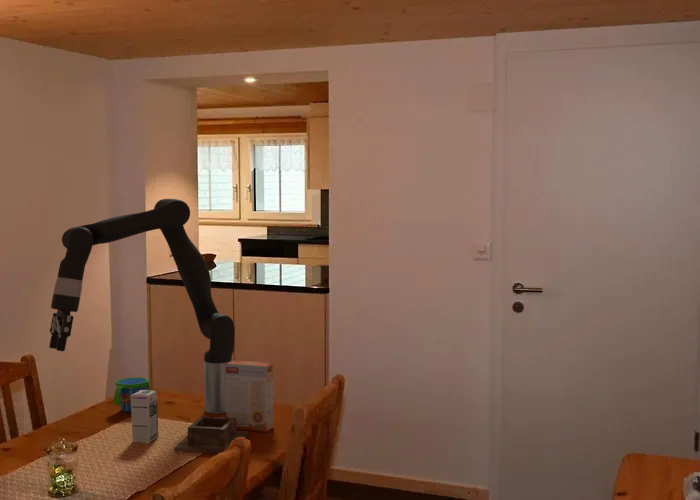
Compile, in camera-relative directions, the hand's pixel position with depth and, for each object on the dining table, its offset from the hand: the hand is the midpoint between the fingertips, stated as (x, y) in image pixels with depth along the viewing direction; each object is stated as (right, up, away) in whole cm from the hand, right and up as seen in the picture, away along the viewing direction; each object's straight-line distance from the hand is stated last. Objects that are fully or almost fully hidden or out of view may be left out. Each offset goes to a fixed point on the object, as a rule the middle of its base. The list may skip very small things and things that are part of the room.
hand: (56, 349), depth 217 cm
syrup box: (+24, -28, +7) cm, 38 cm away
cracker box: (+54, -28, +19) cm, 63 cm away
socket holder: (+44, -28, +4) cm, 53 cm away
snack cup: (+11, -26, +39) cm, 48 cm away
